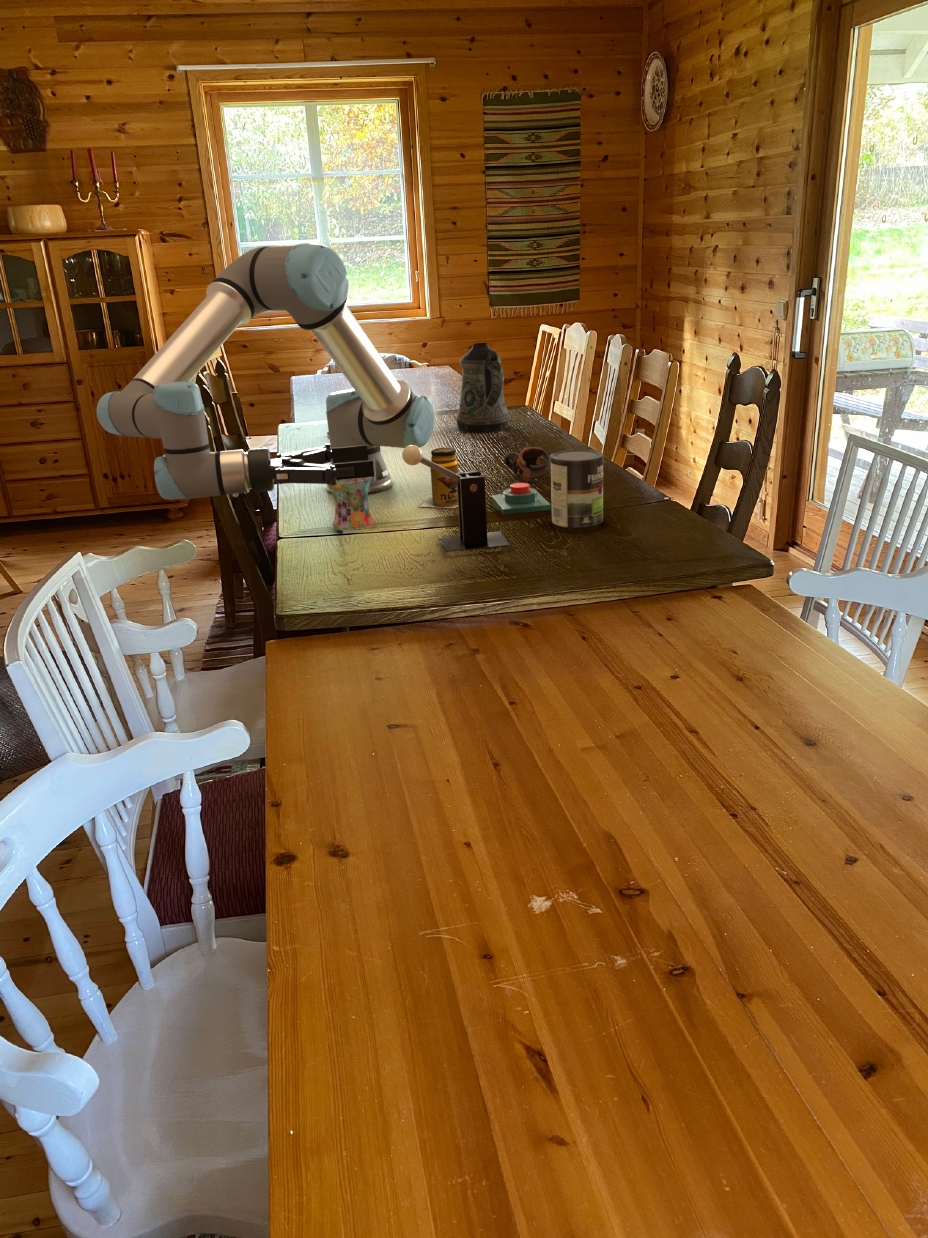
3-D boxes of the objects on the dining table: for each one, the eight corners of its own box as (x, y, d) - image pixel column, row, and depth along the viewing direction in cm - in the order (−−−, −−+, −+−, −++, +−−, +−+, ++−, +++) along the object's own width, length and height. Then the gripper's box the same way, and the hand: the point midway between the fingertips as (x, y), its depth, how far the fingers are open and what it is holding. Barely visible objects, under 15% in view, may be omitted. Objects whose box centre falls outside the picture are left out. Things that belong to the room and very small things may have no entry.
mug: (373, 533, 183) (368, 481, 179) (327, 535, 183) (321, 483, 179) (381, 517, 194) (376, 467, 190) (338, 518, 194) (332, 469, 190)
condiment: (456, 508, 197) (452, 453, 192) (419, 507, 199) (415, 452, 195) (466, 499, 203) (463, 445, 199) (430, 498, 206) (426, 445, 201)
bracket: (445, 557, 166) (441, 483, 161) (438, 543, 174) (434, 472, 169) (510, 550, 168) (507, 477, 163) (500, 537, 176) (497, 466, 171)
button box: (491, 504, 198) (491, 486, 196) (536, 500, 199) (536, 482, 198) (503, 519, 187) (502, 500, 186) (550, 514, 188) (550, 496, 187)
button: (508, 491, 193) (508, 483, 193) (527, 490, 194) (527, 481, 193) (512, 496, 190) (512, 488, 189) (531, 494, 190) (531, 486, 190)
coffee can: (611, 521, 182) (612, 450, 177) (590, 535, 174) (590, 462, 169) (565, 515, 187) (564, 447, 182) (541, 529, 179) (540, 458, 174)
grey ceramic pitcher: (476, 421, 292) (472, 339, 283) (528, 425, 281) (526, 340, 272) (445, 430, 280) (440, 346, 271) (498, 435, 269) (495, 347, 260)
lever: (399, 461, 161) (409, 443, 160) (397, 457, 164) (406, 439, 164) (474, 498, 166) (483, 481, 165) (470, 493, 169) (480, 476, 168)
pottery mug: (554, 474, 223) (558, 448, 216) (542, 499, 217) (546, 474, 211) (507, 461, 225) (510, 435, 218) (494, 486, 219) (497, 460, 213)
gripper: (254, 476, 172) (367, 466, 175) (248, 510, 149) (378, 497, 152) (248, 436, 169) (363, 426, 172) (242, 464, 146) (374, 452, 149)
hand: (370, 459), depth 162 cm, fingers open, 13 cm apart
